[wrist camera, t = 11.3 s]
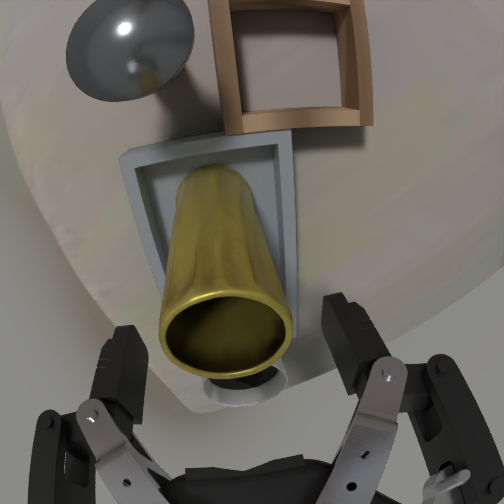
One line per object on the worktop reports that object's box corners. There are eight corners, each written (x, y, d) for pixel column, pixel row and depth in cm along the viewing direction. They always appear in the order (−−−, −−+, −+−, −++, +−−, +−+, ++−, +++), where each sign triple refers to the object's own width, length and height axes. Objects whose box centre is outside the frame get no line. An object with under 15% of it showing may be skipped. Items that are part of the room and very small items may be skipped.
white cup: (274, 281, 28) (303, 364, 19) (252, 328, 31) (269, 407, 22) (207, 268, 26) (211, 357, 17) (192, 319, 29) (194, 403, 20)
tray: (281, 124, 20) (290, 128, 18) (290, 319, 32) (296, 337, 29) (128, 149, 20) (118, 158, 17) (186, 337, 31) (185, 356, 28)
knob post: (195, 18, 15) (187, -29, 7) (203, 89, 18) (200, 84, 10) (116, 37, 14) (63, 10, 7) (125, 106, 18) (74, 118, 10)
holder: (345, 2, 15) (362, -6, 12) (355, 120, 21) (373, 126, 18) (207, 1, 14) (207, -12, 12) (223, 130, 20) (225, 135, 17)
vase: (233, 244, 25) (262, 391, 13) (165, 221, 23) (135, 369, 11) (264, 181, 22) (336, 304, 10) (191, 152, 20) (170, 255, 8)
